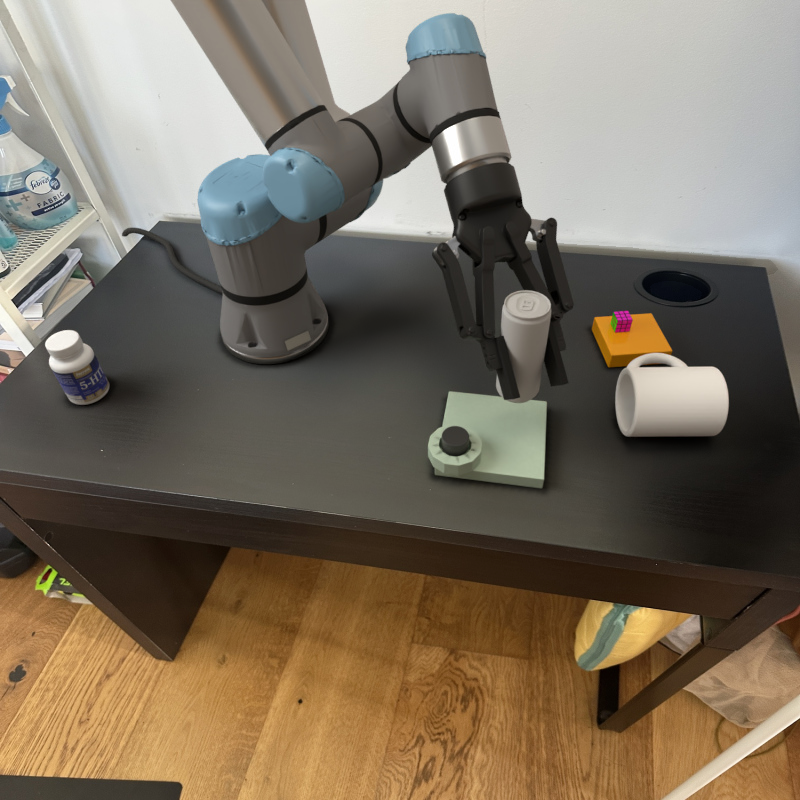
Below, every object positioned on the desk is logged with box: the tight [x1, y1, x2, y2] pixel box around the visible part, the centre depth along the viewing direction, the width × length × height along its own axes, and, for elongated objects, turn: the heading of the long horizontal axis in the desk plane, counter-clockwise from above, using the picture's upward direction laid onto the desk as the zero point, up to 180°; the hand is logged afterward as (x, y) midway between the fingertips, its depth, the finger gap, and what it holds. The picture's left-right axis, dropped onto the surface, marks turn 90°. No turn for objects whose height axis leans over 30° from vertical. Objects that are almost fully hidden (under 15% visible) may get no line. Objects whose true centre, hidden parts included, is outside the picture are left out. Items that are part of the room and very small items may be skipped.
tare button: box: [442, 426, 469, 456], centre depth 69 cm, size 3×3×2 cm
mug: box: [614, 353, 730, 438], centre depth 73 cm, size 12×10×8 cm
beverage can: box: [495, 289, 551, 403], centre depth 66 cm, size 5×5×12 cm
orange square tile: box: [591, 310, 673, 368], centre depth 83 cm, size 8×8×4 cm
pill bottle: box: [44, 329, 110, 406], centre depth 80 cm, size 5×5×9 cm
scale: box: [427, 391, 548, 489], centre depth 73 cm, size 13×13×4 cm
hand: (535, 391), depth 65 cm, fingers closed on beverage can, 5 cm apart
